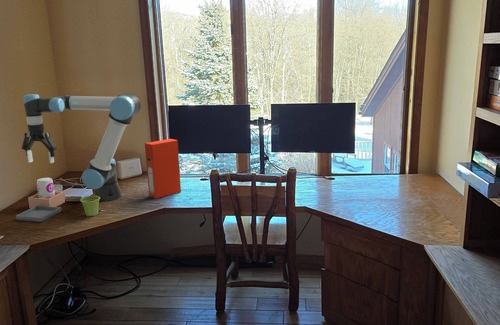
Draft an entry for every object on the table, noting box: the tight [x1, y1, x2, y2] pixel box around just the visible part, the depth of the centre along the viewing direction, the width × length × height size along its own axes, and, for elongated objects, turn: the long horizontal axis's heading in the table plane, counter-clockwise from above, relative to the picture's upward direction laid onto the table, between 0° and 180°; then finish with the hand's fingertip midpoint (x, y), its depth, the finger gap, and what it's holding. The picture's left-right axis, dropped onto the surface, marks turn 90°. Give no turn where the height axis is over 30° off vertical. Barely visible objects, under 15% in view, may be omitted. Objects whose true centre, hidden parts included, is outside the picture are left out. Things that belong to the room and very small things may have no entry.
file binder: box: [144, 138, 182, 200], centre depth 239 cm, size 8×17×32 cm, turn 135°
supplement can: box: [36, 177, 55, 199], centre depth 225 cm, size 8×8×15 cm
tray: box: [15, 206, 63, 223], centre depth 211 cm, size 15×15×2 cm
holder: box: [27, 190, 66, 209], centre depth 226 cm, size 13×13×6 cm
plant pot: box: [80, 195, 100, 217], centre depth 211 cm, size 9×9×9 cm
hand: (41, 162), depth 221 cm, fingers open, 13 cm apart
